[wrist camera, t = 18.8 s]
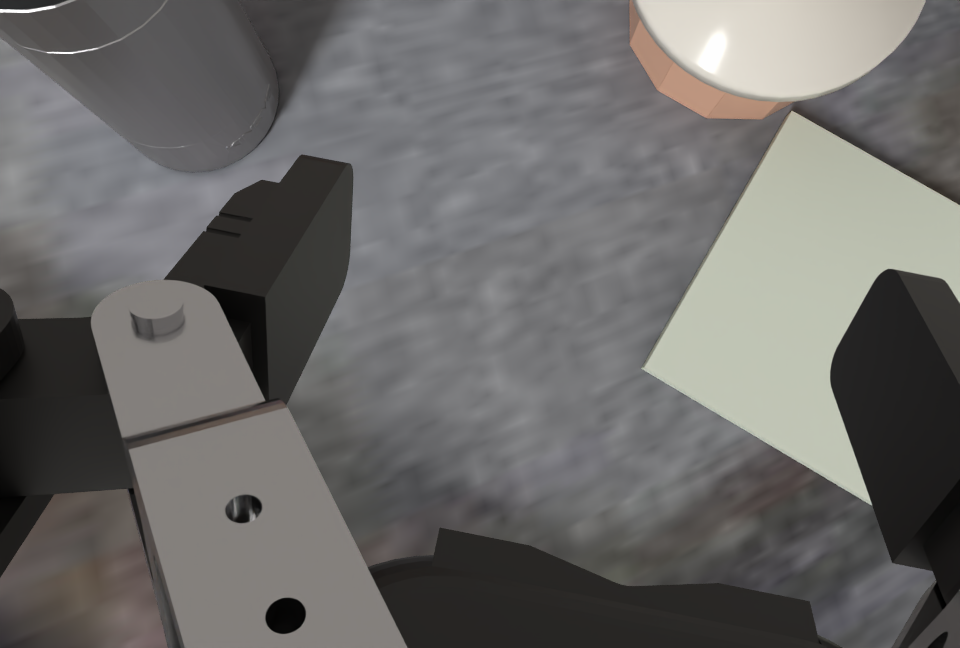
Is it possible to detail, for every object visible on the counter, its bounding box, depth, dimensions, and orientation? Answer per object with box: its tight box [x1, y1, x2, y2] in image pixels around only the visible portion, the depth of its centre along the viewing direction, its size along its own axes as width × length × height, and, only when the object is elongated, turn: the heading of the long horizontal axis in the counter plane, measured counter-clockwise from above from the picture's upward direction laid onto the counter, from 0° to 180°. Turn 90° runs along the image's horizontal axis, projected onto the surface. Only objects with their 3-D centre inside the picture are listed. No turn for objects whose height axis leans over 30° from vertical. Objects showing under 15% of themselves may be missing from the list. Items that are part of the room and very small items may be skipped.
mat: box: [641, 111, 960, 505], centre depth 42 cm, size 17×17×1 cm
